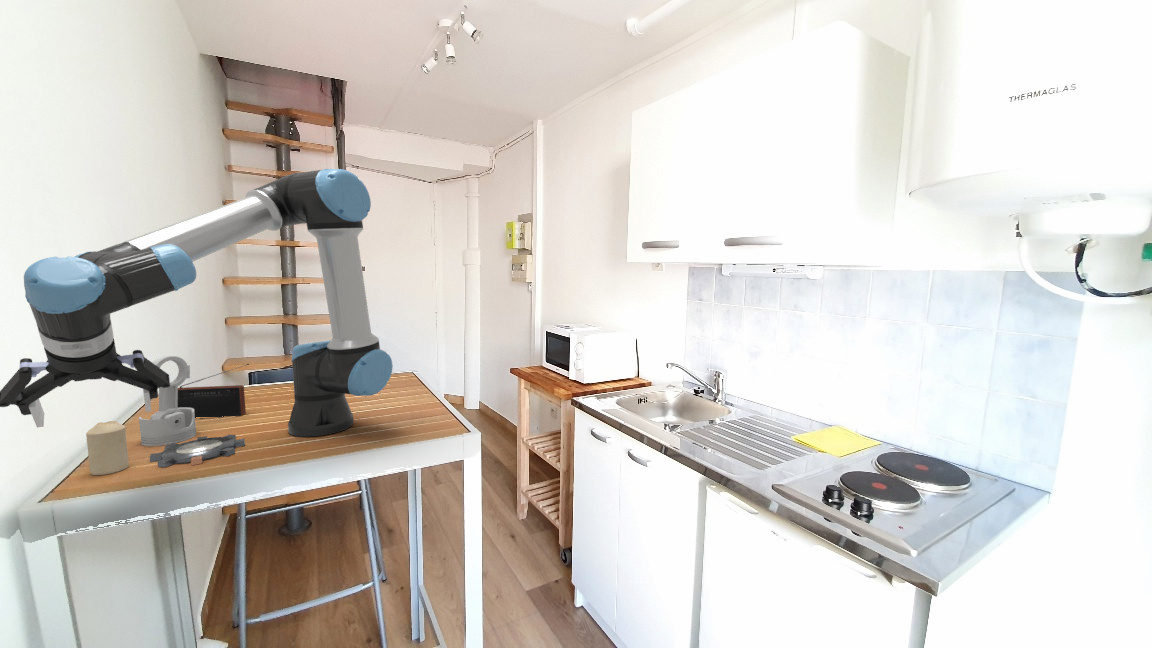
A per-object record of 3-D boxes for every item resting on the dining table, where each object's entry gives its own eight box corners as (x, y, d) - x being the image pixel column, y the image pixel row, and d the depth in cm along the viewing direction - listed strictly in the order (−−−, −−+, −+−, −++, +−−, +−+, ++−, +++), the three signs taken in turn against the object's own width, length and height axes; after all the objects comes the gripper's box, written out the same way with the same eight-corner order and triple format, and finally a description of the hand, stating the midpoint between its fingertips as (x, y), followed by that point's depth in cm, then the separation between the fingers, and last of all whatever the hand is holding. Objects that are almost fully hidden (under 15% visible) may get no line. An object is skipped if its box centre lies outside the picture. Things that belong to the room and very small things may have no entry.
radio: (172, 420, 123) (167, 367, 122) (179, 417, 126) (174, 365, 125) (248, 416, 128) (245, 365, 126) (253, 413, 131) (250, 363, 129)
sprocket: (262, 441, 108) (261, 436, 108) (195, 470, 92) (194, 463, 92) (203, 437, 110) (203, 432, 110) (128, 464, 94) (128, 458, 94)
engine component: (129, 444, 106) (163, 447, 104) (121, 359, 104) (155, 361, 102) (178, 429, 116) (210, 432, 114) (172, 352, 114) (204, 353, 112)
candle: (104, 476, 89) (99, 428, 88) (82, 474, 89) (77, 426, 88) (136, 465, 94) (131, 419, 93) (115, 463, 95) (110, 417, 94)
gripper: (-59, 371, 60) (-15, 447, 72) (186, 351, 77) (188, 416, 89) (-51, 328, 63) (-10, 408, 76) (182, 319, 80) (184, 385, 93)
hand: (97, 412), depth 83 cm, fingers open, 13 cm apart
